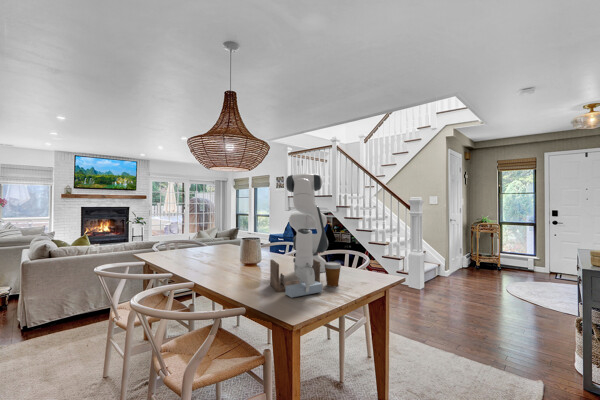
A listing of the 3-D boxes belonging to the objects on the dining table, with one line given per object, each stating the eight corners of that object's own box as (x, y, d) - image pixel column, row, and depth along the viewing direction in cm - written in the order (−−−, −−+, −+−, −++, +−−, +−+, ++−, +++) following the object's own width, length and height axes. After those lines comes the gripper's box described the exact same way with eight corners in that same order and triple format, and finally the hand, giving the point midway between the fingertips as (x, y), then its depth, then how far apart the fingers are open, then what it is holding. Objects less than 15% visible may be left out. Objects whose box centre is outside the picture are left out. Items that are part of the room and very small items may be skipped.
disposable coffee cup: (331, 288, 158) (331, 266, 158) (320, 284, 166) (320, 262, 166) (344, 285, 163) (344, 264, 163) (333, 281, 171) (333, 261, 171)
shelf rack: (310, 281, 172) (310, 257, 172) (319, 287, 159) (319, 261, 159) (270, 284, 164) (270, 259, 164) (276, 292, 151) (276, 264, 151)
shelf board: (315, 288, 155) (315, 280, 155) (322, 291, 150) (322, 283, 150) (285, 294, 146) (285, 285, 146) (291, 297, 140) (291, 289, 140)
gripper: (318, 265, 139) (318, 294, 139) (303, 257, 158) (303, 283, 158) (305, 266, 137) (305, 296, 137) (292, 258, 156) (292, 284, 156)
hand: (304, 289), depth 148 cm, fingers closed on shelf board, 6 cm apart
